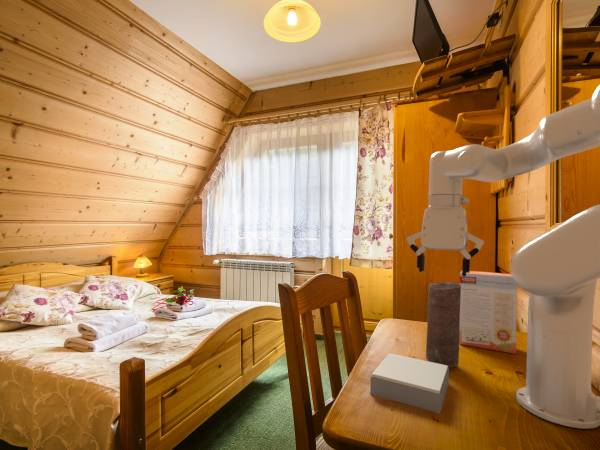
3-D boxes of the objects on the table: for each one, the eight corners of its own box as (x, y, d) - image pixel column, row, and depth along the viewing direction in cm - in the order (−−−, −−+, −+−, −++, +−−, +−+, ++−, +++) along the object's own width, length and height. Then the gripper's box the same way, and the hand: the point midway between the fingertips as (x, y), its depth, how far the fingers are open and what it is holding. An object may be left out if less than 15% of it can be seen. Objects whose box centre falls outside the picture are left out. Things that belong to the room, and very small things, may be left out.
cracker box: (515, 348, 93) (516, 273, 93) (516, 355, 88) (517, 276, 87) (459, 338, 100) (461, 269, 100) (458, 344, 95) (459, 271, 95)
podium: (448, 384, 71) (448, 365, 71) (440, 413, 60) (440, 391, 60) (388, 369, 77) (388, 352, 77) (370, 393, 66) (370, 373, 66)
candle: (463, 373, 76) (465, 287, 76) (429, 371, 77) (431, 285, 77) (453, 360, 83) (454, 281, 83) (422, 357, 85) (424, 280, 84)
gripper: (485, 204, 79) (483, 275, 79) (411, 203, 88) (409, 268, 88) (485, 202, 72) (482, 279, 73) (404, 202, 81) (402, 271, 82)
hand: (442, 273), depth 80 cm, fingers open, 9 cm apart
